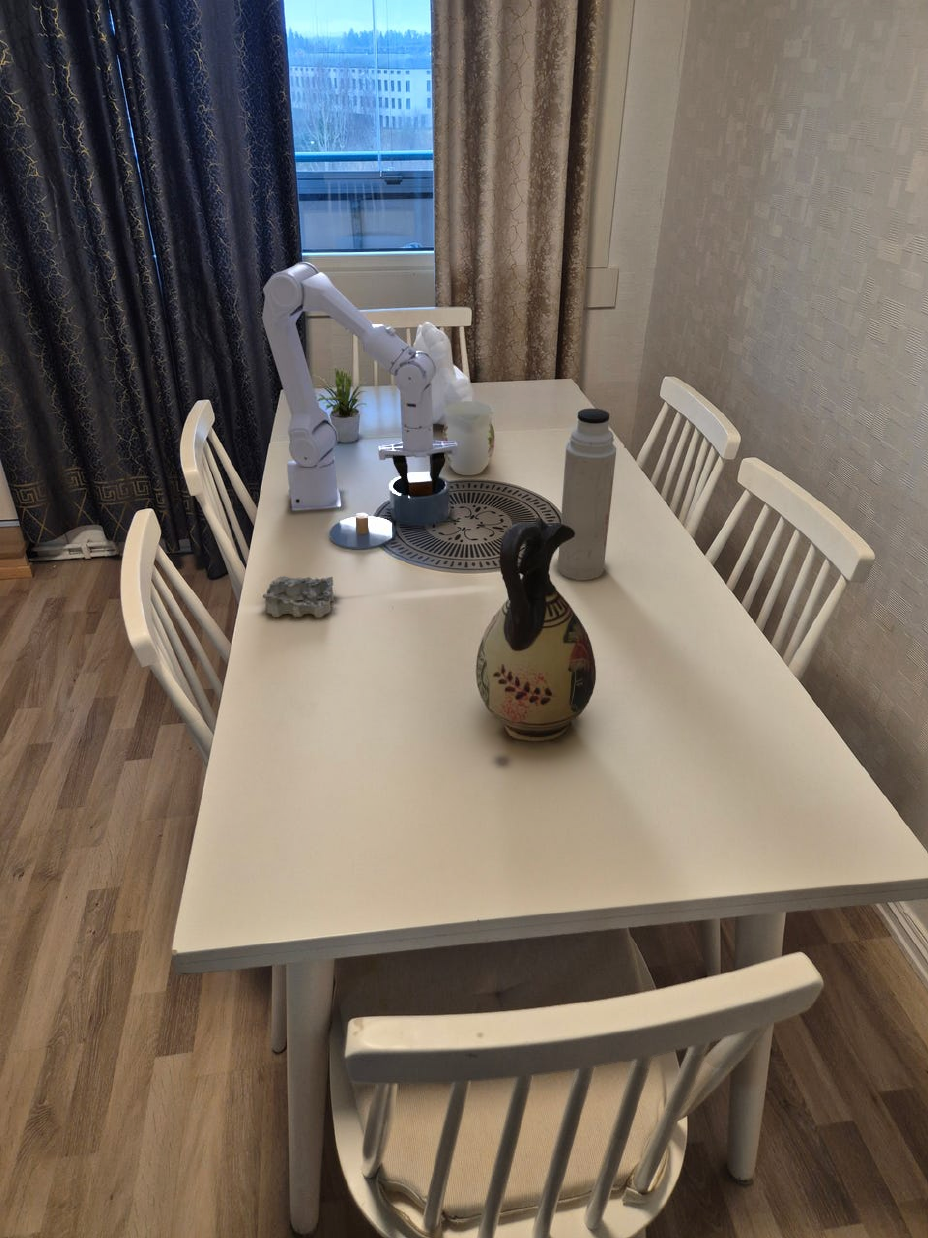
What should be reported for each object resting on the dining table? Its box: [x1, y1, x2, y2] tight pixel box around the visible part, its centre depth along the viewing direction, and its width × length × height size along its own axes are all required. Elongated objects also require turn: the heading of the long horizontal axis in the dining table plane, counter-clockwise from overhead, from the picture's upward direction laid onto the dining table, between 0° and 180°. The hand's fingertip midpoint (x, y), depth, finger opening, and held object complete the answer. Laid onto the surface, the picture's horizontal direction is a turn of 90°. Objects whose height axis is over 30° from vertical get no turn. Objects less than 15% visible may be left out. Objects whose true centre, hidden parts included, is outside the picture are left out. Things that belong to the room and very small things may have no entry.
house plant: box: [310, 365, 368, 444], centre depth 192 cm, size 14×14×16 cm
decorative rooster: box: [412, 321, 475, 426], centre depth 195 cm, size 25×16×25 cm
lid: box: [329, 512, 397, 551], centre depth 155 cm, size 12×12×4 cm
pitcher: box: [441, 401, 495, 476], centre depth 178 cm, size 11×18×14 cm, turn 2°
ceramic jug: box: [475, 516, 597, 762], centre depth 104 cm, size 17×15×30 cm
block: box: [408, 471, 433, 497], centre depth 160 cm, size 4×4×4 cm
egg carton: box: [262, 575, 335, 618], centre depth 135 cm, size 11×8×4 cm
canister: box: [388, 475, 451, 527], centre depth 162 cm, size 11×11×6 cm
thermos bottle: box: [557, 407, 617, 581], centre depth 138 cm, size 8×8×28 cm
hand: (419, 491), depth 161 cm, fingers closed on block, 4 cm apart
